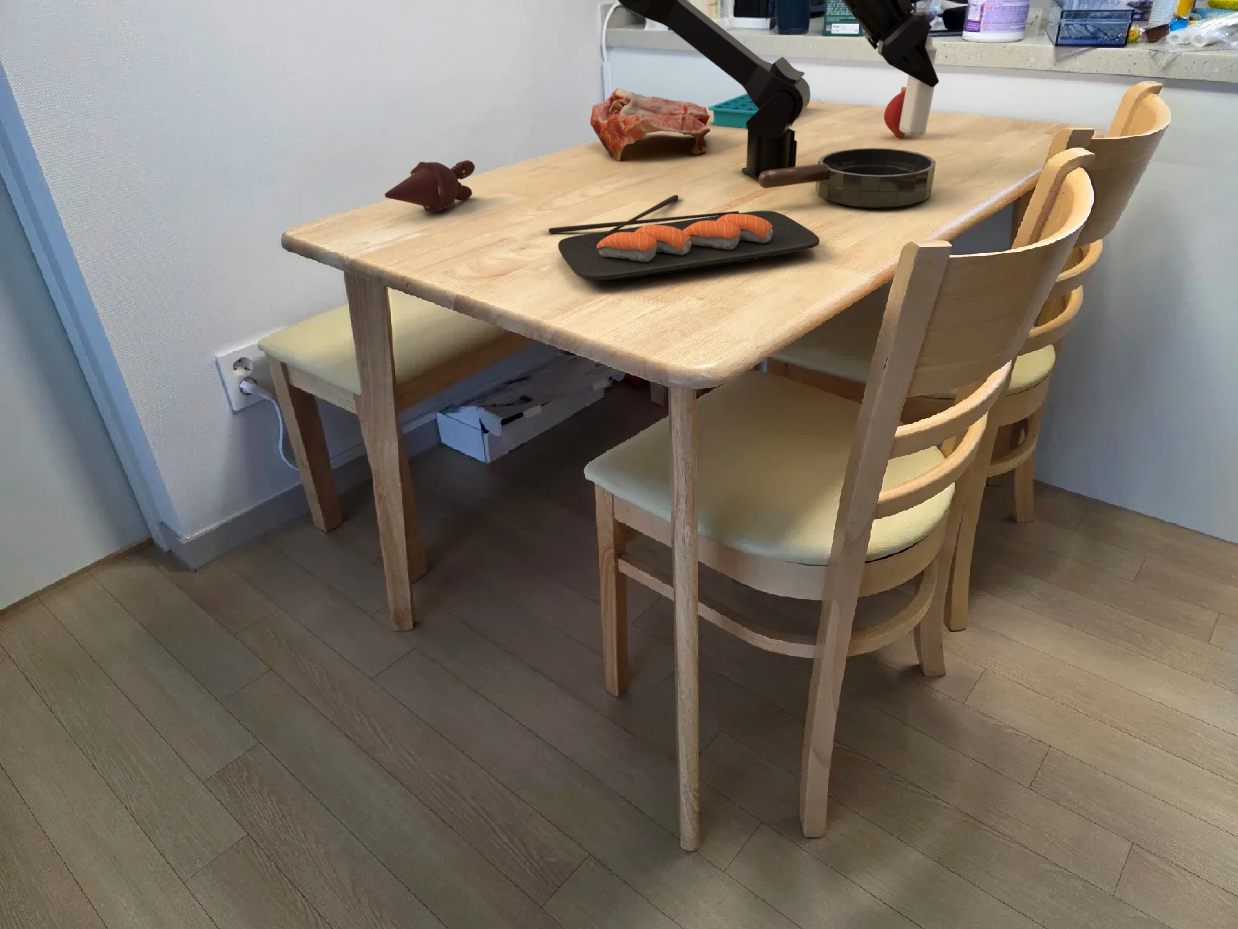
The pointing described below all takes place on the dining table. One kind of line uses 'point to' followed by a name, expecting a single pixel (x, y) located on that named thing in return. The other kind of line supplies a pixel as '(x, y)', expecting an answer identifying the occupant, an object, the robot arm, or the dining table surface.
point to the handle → (793, 175)
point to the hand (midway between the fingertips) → (931, 81)
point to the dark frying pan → (876, 177)
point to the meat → (646, 120)
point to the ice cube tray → (734, 111)
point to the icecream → (434, 185)
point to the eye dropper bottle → (917, 101)
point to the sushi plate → (680, 243)
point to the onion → (895, 113)
